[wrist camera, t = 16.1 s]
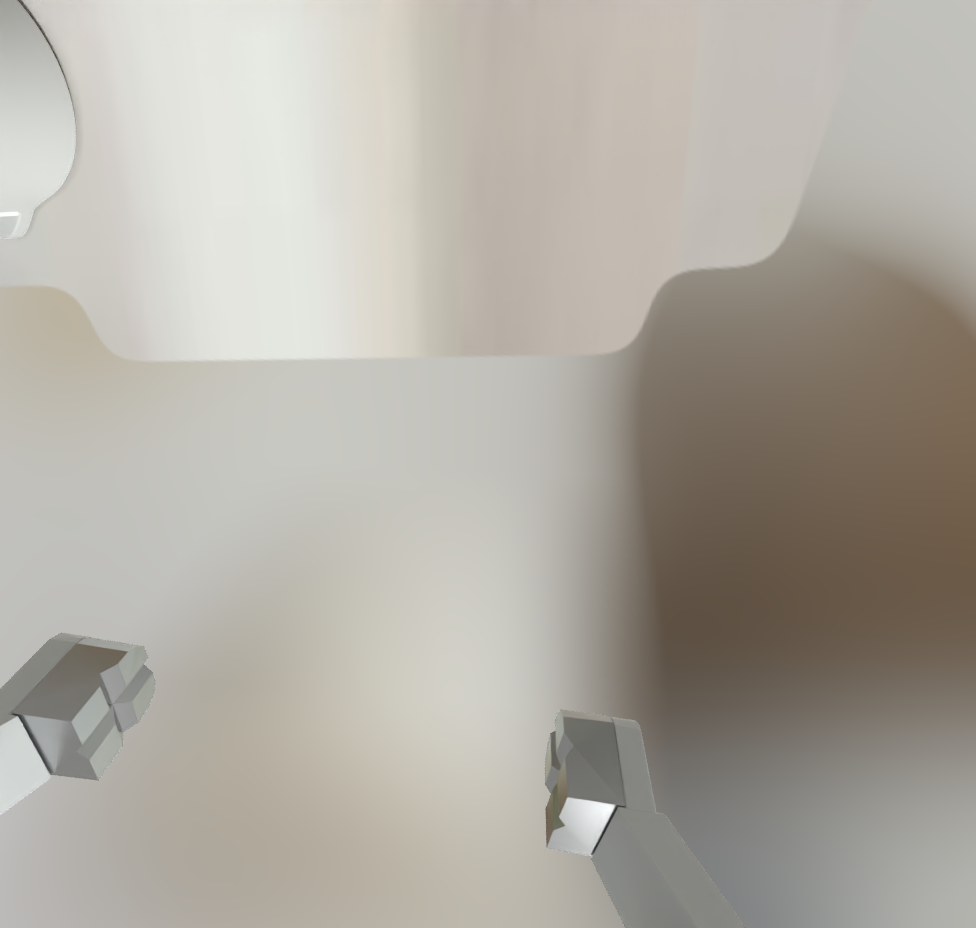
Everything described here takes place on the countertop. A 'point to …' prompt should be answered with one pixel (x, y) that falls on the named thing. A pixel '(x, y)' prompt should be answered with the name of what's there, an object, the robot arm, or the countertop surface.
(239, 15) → the countertop surface
